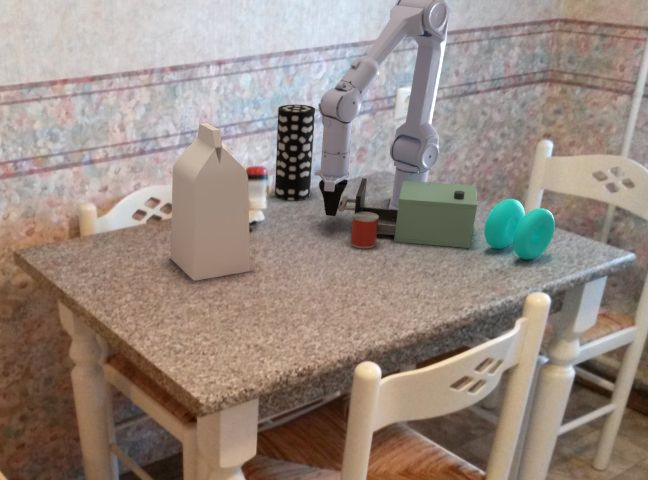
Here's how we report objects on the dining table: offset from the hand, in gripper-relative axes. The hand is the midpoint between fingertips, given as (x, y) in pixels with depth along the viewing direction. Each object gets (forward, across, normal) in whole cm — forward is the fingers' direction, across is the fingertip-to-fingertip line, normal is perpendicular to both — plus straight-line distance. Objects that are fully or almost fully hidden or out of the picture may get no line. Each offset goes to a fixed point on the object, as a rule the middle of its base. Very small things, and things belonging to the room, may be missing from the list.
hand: (330, 214), depth 174 cm
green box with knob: (+2, 0, +22) cm, 22 cm away
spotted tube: (+3, -19, -12) cm, 22 cm away
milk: (+2, +28, -20) cm, 34 cm away
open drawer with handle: (+2, 0, +11) cm, 11 cm away
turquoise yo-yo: (+3, +7, +38) cm, 38 cm away
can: (+2, +10, +8) cm, 13 cm away
